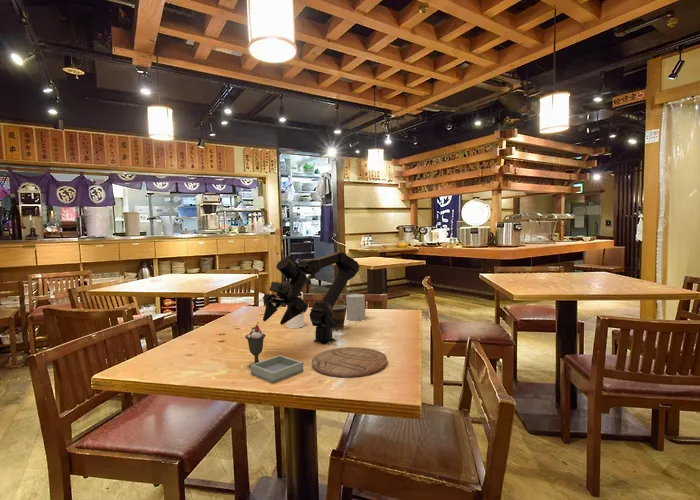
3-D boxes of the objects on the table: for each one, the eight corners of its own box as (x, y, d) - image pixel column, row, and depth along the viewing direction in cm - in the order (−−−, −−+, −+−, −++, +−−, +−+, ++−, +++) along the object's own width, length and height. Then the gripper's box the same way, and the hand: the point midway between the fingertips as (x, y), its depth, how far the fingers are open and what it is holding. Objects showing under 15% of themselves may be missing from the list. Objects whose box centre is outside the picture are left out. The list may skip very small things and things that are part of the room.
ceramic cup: (334, 324, 173) (333, 304, 173) (351, 327, 167) (350, 306, 167) (316, 331, 163) (315, 309, 162) (334, 334, 157) (333, 311, 157)
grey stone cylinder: (345, 321, 179) (344, 297, 178) (348, 317, 188) (347, 294, 188) (364, 322, 177) (363, 297, 177) (366, 317, 187) (366, 294, 186)
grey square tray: (280, 363, 122) (280, 355, 122) (303, 371, 114) (303, 362, 114) (250, 374, 113) (250, 364, 113) (273, 383, 105) (272, 373, 105)
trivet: (366, 384, 104) (365, 378, 104) (296, 371, 116) (296, 365, 116) (398, 358, 125) (398, 352, 125) (337, 348, 138) (336, 343, 138)
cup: (302, 328, 168) (301, 294, 168) (285, 328, 168) (283, 294, 168) (305, 324, 177) (304, 291, 176) (288, 324, 177) (287, 292, 176)
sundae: (261, 369, 117) (260, 323, 116) (242, 368, 118) (240, 323, 118) (270, 362, 123) (268, 318, 123) (252, 361, 125) (250, 318, 124)
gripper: (265, 272, 135) (241, 306, 127) (300, 274, 124) (276, 312, 115) (282, 290, 142) (260, 323, 133) (317, 293, 130) (295, 331, 122)
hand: (272, 322), depth 126 cm, fingers open, 9 cm apart
